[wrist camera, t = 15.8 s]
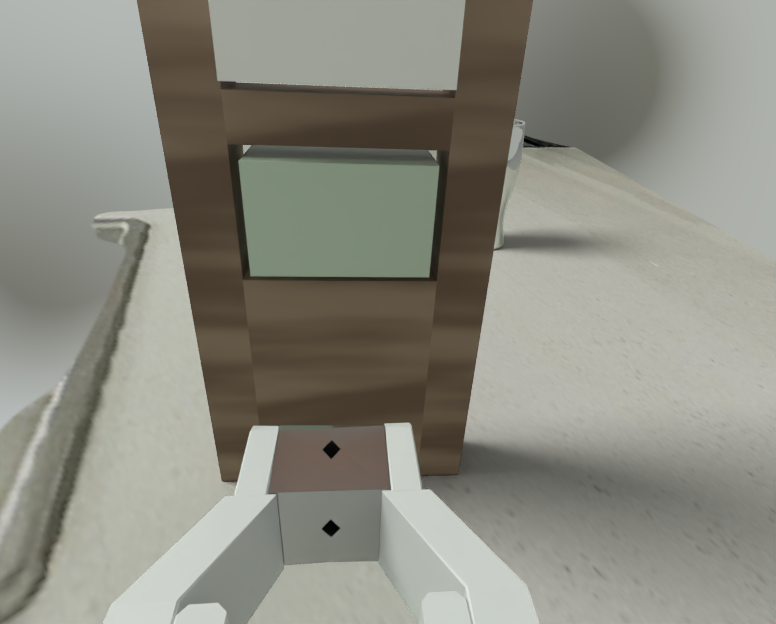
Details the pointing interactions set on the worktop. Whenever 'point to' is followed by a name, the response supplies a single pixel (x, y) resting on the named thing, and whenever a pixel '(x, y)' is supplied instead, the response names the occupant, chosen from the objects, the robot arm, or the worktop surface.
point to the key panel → (336, 294)
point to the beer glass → (510, 176)
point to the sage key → (338, 211)
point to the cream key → (339, 42)
